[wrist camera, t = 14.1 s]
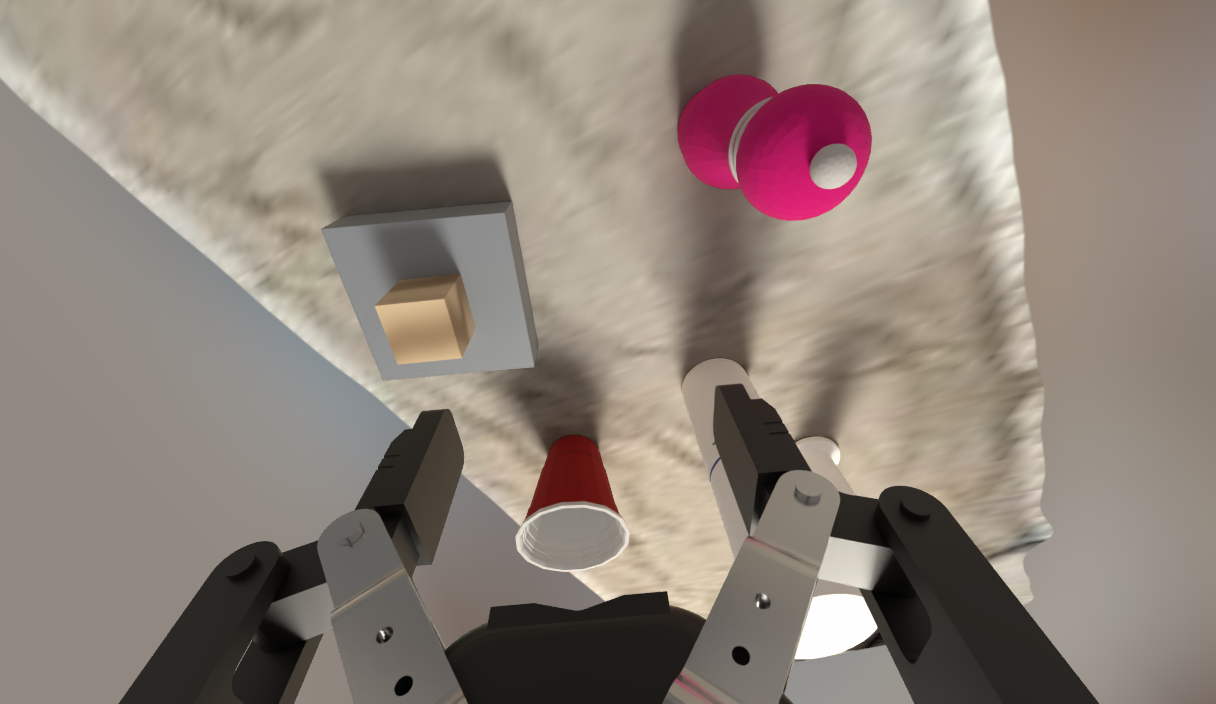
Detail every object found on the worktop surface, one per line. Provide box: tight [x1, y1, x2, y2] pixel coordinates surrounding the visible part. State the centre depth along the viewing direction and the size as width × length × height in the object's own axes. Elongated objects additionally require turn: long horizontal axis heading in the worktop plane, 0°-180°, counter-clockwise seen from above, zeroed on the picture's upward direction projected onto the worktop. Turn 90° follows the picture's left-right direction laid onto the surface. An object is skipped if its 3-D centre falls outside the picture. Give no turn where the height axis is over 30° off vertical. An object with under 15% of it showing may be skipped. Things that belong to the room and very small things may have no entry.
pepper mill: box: [678, 74, 872, 221], centre depth 27 cm, size 7×7×20 cm
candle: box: [795, 437, 856, 496], centre depth 43 cm, size 7×7×25 cm
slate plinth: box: [321, 201, 538, 381], centre depth 39 cm, size 14×14×4 cm
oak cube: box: [375, 274, 475, 365], centre depth 35 cm, size 5×5×5 cm
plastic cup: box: [516, 435, 630, 572], centre depth 47 cm, size 11×11×12 cm
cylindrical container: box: [682, 358, 877, 659], centre depth 37 cm, size 7×7×25 cm
